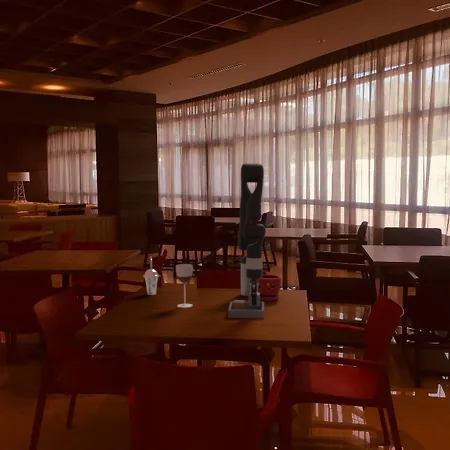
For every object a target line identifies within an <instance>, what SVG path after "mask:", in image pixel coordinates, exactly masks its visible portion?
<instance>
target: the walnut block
mask: <svg viewBox="0 0 450 450" xmlns="http://www.w3.org/2000/svg"><path fill="white" fill-rule="evenodd" d="M232 302H233V310H245V302H246V300H245V299H244V300H243V299H240V300H239V299H233V301H232Z"/></svg>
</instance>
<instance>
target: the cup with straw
mask: <svg viewBox="0 0 450 450" xmlns="http://www.w3.org/2000/svg"><path fill="white" fill-rule="evenodd" d="M149 258H150V268H149V269H147V270H146V271H145V273H144V274H143V278H144V279H145V284H146V293H147V295H149V296H155V295H157V285H158V280H159V277H160V274H158V273H159V272H158V271H157V270H156V269H154V268H153V257H152V256H150V257H149Z"/></svg>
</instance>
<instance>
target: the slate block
mask: <svg viewBox="0 0 450 450" xmlns="http://www.w3.org/2000/svg"><path fill="white" fill-rule="evenodd" d="M253 294H256V293H253ZM248 302H249V306H260V302H261V300H260V293H257V305H252V297H251V293H249V296H248Z"/></svg>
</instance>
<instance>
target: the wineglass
mask: <svg viewBox="0 0 450 450" xmlns="http://www.w3.org/2000/svg"><path fill="white" fill-rule="evenodd" d="M193 268H194V265H193V264H192V263H181V264H177V265H175V272H176V278H177V279H178V281H180V282H181V283H182V284H183V301H184V302H183V303H180V304H177V308H184V309H185V308H191V307H193V304H192V303H191V304H190V303H186V302H187V301H186V300H187V299H186V298H187V297H186V295H187V294H186V292H187V291H186V283H189V281H191V279H192V277H193Z"/></svg>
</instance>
